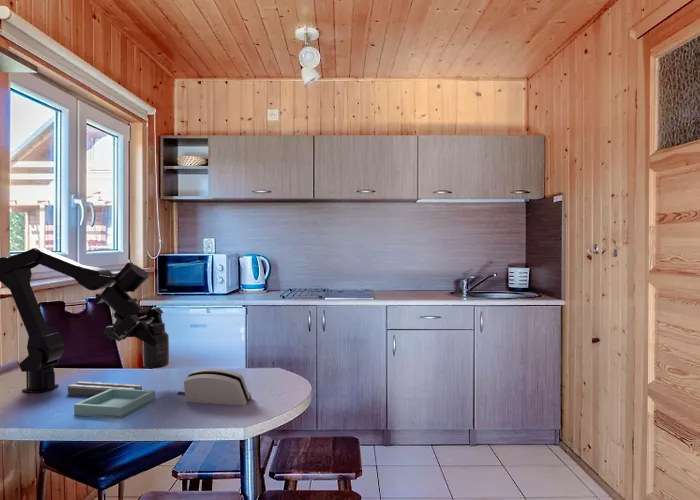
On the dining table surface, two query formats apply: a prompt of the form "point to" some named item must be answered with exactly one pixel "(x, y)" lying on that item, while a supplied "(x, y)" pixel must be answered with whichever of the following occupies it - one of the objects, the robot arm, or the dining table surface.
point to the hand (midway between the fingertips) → (160, 342)
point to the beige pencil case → (216, 387)
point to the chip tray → (114, 403)
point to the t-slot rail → (97, 388)
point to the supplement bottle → (156, 348)
